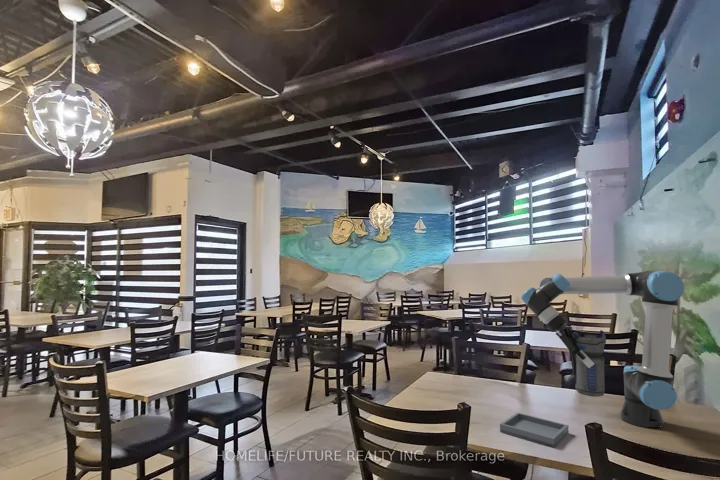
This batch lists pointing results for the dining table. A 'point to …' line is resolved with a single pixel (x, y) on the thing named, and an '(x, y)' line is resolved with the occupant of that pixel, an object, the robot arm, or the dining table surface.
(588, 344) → the beverage bottle
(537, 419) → the tray
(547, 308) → the robot arm
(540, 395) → the dining table surface
